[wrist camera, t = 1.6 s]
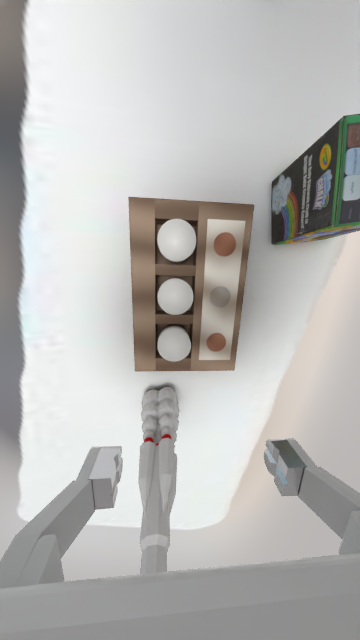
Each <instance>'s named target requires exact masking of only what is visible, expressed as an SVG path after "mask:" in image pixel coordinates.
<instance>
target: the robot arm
mask: <svg viewBox="0 0 360 640" xmlns="http://www.w3.org/2000/svg"><path fill="white" fill-rule="evenodd" d="M266 446H267V449H266V450H265V452H264V460H265V464H266V467H267V469H268V471H269V472H270V473H271V474H272V475H273V476H274V482H275V484H276V486H277V488H278V490H279V491H280V493H281V495H282V496H298V497H299V498H300V499H301V500H302V501H303V502H304V503H305V504H306V505H307V506H308V507H309V508H310V509H312V511H314V512H315V513H316V514H317V515H318V516H319V517H320V518H321V519H322V520H323V521H324V522H325V523H326V524H327V525H328V526H329V527H330V528H331V529H332V530H333V531H334V532H335V533H336V534H337V535H338V536H340V538H341V539H342V542H341V545H340V548H339V554H340V555H333V556H322V557H312V558H302V559H292V560H282V561H270V562H260V563H250V564H239V565H229V566H219V567H209V568H198V569H190V570H189V569H188V570H179V571H168V572H158V573H147V574H138V575H127V576H117V577H108V578H97V579H87V580H76V581H66V582H64V575H63V570H62V565H61V558H62V556H63V555H64V553H65V552H66V551H67V549H68V548H69V546H70V545H71V544H72V542H73V541H74V540H75V538H76V537H77V535H78V534H79V533H80V531H81V530H82V528H83V527H84V526H85V524H86V523H87V521H88V520H89V519H90V517H91V516H92V514H93V513H94V512H95V510H97V509H106V508H114V504H115V500H116V495H117V484H118V483H119V481H120V478H121V473H122V463H123V462H122V458H121V453H122V447H121V446H111V447H92V448H91V449H90V451H89V453H88V455H87V457H86V460H85V462H84V464H83V466H82V469H81V471H80V473H79V475H78V477H77V480H76V481H72V482H71V483H70V484H69V485H68V486H67V487H66V488H65V489H64V490H63V491H62V492H61V493H60V494H59V495H58V496H57V497H56V498H54V499H53V500H52V501H51V502H50V503H49V504H48V505H47V506H46V507H45V508H44V509H43V510H42V511H41V512H40V513H39V514H38V515H37V516H36V517H35V518H34V519H32V520H31V521H30V522H29V523H28V524H27V525H26V526H25V527H24V528H23V529H22V530H21V531H20V532H19V533H18V534H17V535H16V536H15V537H14V539H13V541H12V542H11V544H10V546H9V547H8V549H7V551H6V552H5V554H4V556H3V558H2V559H1V561H0V640H360V493H359V492H357V491H355V490H354V489H353V488H351V487H350V486H348V485H347V484H345V483H344V482H342V481H341V480H339V479H338V478H336V477H335V476H333V475H332V474H330V473H329V472H327V471H326V470H324V469H323V468H321V467H317V466H316V465H315V463H314V462H313V461H312V460H311V458H310V457H309V456H308V455H307V453H306V452H305V451H304V450H303V449H302V447H301V446H300V445H299V443H298V442H297V441H296V440H295V439H294V438H289V439H269V440H267V441H266Z"/></svg>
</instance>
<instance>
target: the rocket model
mask: <svg viewBox="0 0 360 640" xmlns="http://www.w3.org/2000/svg"><path fill="white" fill-rule="evenodd" d="M142 408H143V409H142V412H141V416H142V421H143V424H142V430H143V432H144V435H143V440H144V443H143V444H142V445H141V446H140V463H139V487H140V493H141V499H142V505H143V517H142V526H141V536H140V546H141V550H142V559H141V569H140V574H147V573H158V572H167V551H168V548H169V545H170V534H169V532H170V527H169V516H170V512H171V509H172V505H173V501H174V498H175V494H176V472H177V456H176V454H175V453H174V447H175V445H174V443H175V441H176V437H177V434H176V431H177V429H178V424H179V421H178V416H179V407H178V404H177V395H176V393H175V391H174V390H173V389H171V388H170V387H164V388H162V389H161V390H159V391H158V390H149V391H147V392H146V394H145V395H144V397H143V400H142Z"/></svg>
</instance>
